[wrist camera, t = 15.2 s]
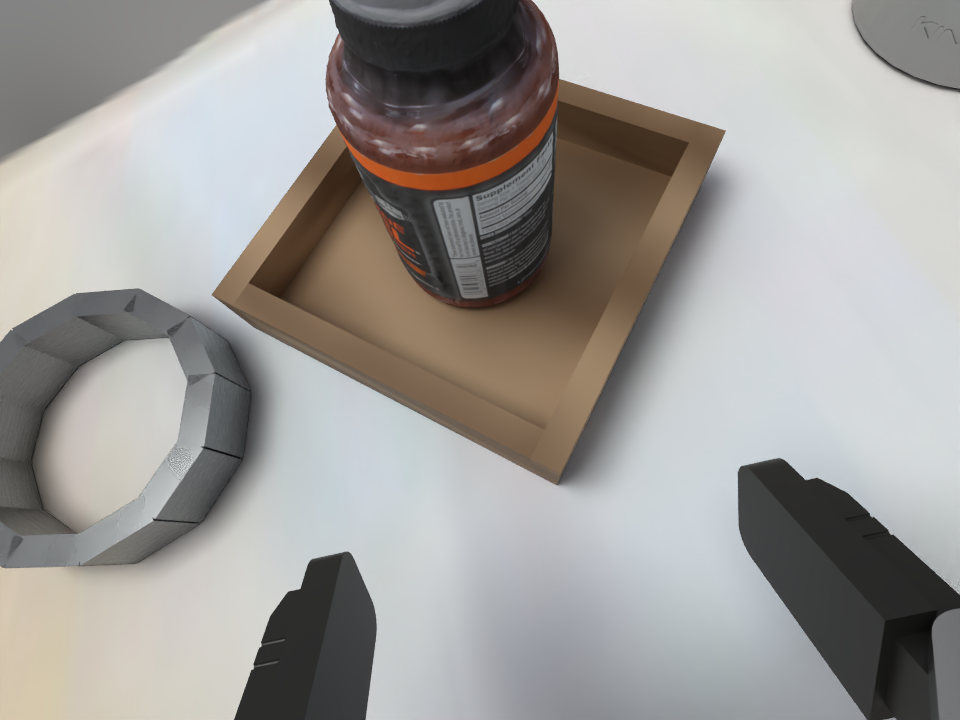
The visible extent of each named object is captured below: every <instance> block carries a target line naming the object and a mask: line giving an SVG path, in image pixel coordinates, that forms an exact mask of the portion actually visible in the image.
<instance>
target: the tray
mask: <svg viewBox="0 0 960 720" xmlns="http://www.w3.org/2000/svg"><path fill="white" fill-rule="evenodd" d="M725 132H726V131H725V130H722V129H719V128H715V127H712V126H709V125H706V124H702V123H699V122H696V121H693V120H690V119H686V118H683V117H680V116H677V115H673V114H670V113H667V112H664V111H661V110H657V109H654V108H651V107H648V106H644V105H641V104H638V103H635V102H632V101H628V100H625V99H622V98H619V97H615V96H612V95H609V94H606V93H603V92H599V91H596V90H593V89H590V88H586V87H583V86H580V85H577V84H574V83H570V82H567V81H564V80H561V79H559V89H558V116H557V140H556V162H555V179H554V199H553V221H552V236H551V241H550V249H549V253H548V257H547V260H546V262H545V264H544V266H543V268H542V270H541V271H540V273H539V274H538V276H537V277H536V278H535V279H534V281H533V282H532V283H531V284H530V285H529V286H528V287H527V288H525V289H524V290H523V291H522V292H520V293H519V294H517V295H515V296H514V297H512V298H510V299H508V300H506V301H504V302H501V303H499V304H495V305H490V306H486V307H458V306H453V305H448V304H446V303H444V302H442V301H440V300H438V299H436V298H434V297H432V296H431V295H429V294H428V293H426V292H425V291H424V290H423V289H422V288H421V287H420V286H419V285H418V284H417V283H416V282H415V281H414V279H413V278H412V276H411V275H410V274H409V273H408V271H407V269H406V268H405V266H404V264H403V263H402V261H401V259H400V257H399V254H398V252H397V250H396V247H395V245H394V243H393V241H392V239H391V237H390V235H389V233H388V232H387V229H386V227H385V225H384V222H383V220H382V218H381V215H380V213H379V211H378V210H377V208H376V205H375V203H374V201H373V199H372V197H371V195H370V194H369V192H368V190H367V188H366V186H365V184H364V182H363V180H362V178H361V175H360V173H359V171H358V169H357V167H356V165H355V163H354V162H353V160H352V157H351V155H350V152H349V149H348V147H347V146H346V144H345V142H344V139H343V137H342V135H341V133H340V131H339V129H338V127H337V125H336V126H335V128H334V129H333V130H332V132H331V133H330V134H329V136H328V137H327V139H326V140H325V141H324V143H323V144H322V145H321V147H320V148H319V149H318V151H317V152H316V154H315V155H314V156H313V158H312V159H311V160H310V162H309V163H308V164H307V166H306V167H305V168H304V170H303V171H302V173H301V174H300V175H299V177H298V178H297V179H296V181H295V182H294V183H293V185H292V186H291V187H290V189H289V190H288V192H287V193H286V194H285V196H284V197H283V198H282V200H281V201H280V202H279V204H278V205H277V207H276V208H275V209H274V211H273V212H272V213H271V215H270V216H269V217H268V219H267V220H266V221H265V223H264V224H263V226H262V227H261V228H260V230H259V231H258V232H257V234H256V235H255V236H254V238H253V239H252V240H251V242H250V243H249V245H248V246H247V247H246V249H245V250H244V251H243V253H242V254H241V255H240V257H239V258H238V260H237V261H236V262H235V264H234V265H233V266H232V268H231V269H230V270H229V272H228V273H227V274H226V276H225V277H224V279H223V280H222V281H221V283H220V284H219V285H218V287H217V288H216V289H215V291H214V292H213V294H212V295H213V296H214V297H215V298H216V299H218V300H219V301H220V302H222V303H223V304H224V305H226V306H227V307H228V308H229V309H231V310H232V311H233V312H235V313H236V314H237V315H239V316H240V317H241V318H242V319H244V320H245V321H246V322H248V323H249V324H250V325H252V326H253V327H255V328H256V329H258V330H260V331H262V332H264V333H266V334H268V335H270V336H272V337H274V338H276V339H278V340H280V341H281V342H283V343H285V344H287V345H289V346H291V347H293V348H295V349H297V350H299V351H301V352H303V353H304V354H306V355H308V356H310V357H312V358H314V359H316V360H318V361H320V362H322V363H324V364H326V365H327V366H329V367H331V368H333V369H335V370H337V371H339V372H341V373H343V374H345V375H347V376H349V377H350V378H352V379H354V380H356V381H358V382H360V383H362V384H364V385H366V386H368V387H370V388H372V389H373V390H375V391H377V392H379V393H381V394H383V395H385V396H387V397H389V398H391V399H393V400H395V401H396V402H398V403H400V404H402V405H404V406H406V407H408V408H410V409H412V410H414V411H416V412H418V413H419V414H421V415H423V416H425V417H427V418H429V419H431V420H433V421H435V422H437V423H439V424H441V425H443V426H444V427H446V428H448V429H450V430H452V431H454V432H456V433H458V434H460V435H462V436H464V437H466V438H467V439H469V440H471V441H473V442H475V443H477V444H479V445H481V446H483V447H485V448H487V449H489V450H490V451H492V452H494V453H496V454H498V455H500V456H502V457H504V458H506V459H508V460H510V461H512V462H513V463H515V464H517V465H519V466H521V467H523V468H525V469H527V470H529V471H531V472H533V473H535V474H536V475H538V476H540V477H542V478H544V479H546V480H548V481H550V482H552V483H554V484H556V485H557V484H558V482H559V480H560V478H561V476H562V474H563V472H564V470H565V467H566V465H567V463H568V461H569V459H570V457H571V455H572V453H573V451H574V449H575V447H576V445H577V443H578V440H579V438H580V436H581V434H582V432H583V430H584V428H585V426H586V424H587V422H588V420H589V418H590V416H591V413H592V411H593V409H594V407H595V405H596V403H597V401H598V399H599V397H600V395H601V393H602V391H603V389H604V386H605V384H606V382H607V380H608V378H609V376H610V374H611V372H612V370H613V368H614V366H615V364H616V362H617V359H618V357H619V355H620V353H621V351H622V349H623V347H624V345H625V343H626V341H627V339H628V337H629V335H630V332H631V330H632V328H633V326H634V324H635V322H636V320H637V318H638V316H639V314H640V312H641V310H642V308H643V305H644V303H645V301H646V299H647V297H648V295H649V293H650V291H651V289H652V287H653V285H654V283H655V281H656V278H657V276H658V274H659V272H660V270H661V268H662V266H663V264H664V262H665V260H666V258H667V256H668V254H669V251H670V249H671V247H672V245H673V243H674V241H675V239H676V237H677V235H678V233H679V231H680V229H681V227H682V224H683V222H684V220H685V218H686V216H687V214H688V212H689V210H690V208H691V206H692V204H693V202H694V200H695V197H696V195H697V193H698V191H699V189H700V187H701V185H702V183H703V181H704V178H705V176H706V174H707V172H708V169H709V167H710V165H711V163H712V161H713V158H714V156H715V154H716V152H717V149H718V147H719V145H720V143H721V141H722V138H723V136H724V134H725Z"/></svg>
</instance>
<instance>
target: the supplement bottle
mask: <svg viewBox="0 0 960 720" xmlns="http://www.w3.org/2000/svg"><path fill="white" fill-rule="evenodd" d="M329 2H330V5H331V7H332V11H333V14H334V16H335V23H336V27H337V29H338V30H339V34H338V36H337V38H336V40H335V43H334V45H333V47H332V50H331V52H330V55H329V61H328V64H327V72H326V92H327V96H328V97H327V98H328V101H329V108H330V110H331V113H332V115H333V117H334V120H335V122H336V124H337V127H338V129H339V131H340V133H341V135H342V137H343V139H344V142H345V144H346V146H347V147H348V149H349V152H350V155H351V157H352V160H353V162H354V163H355V165H356V167H357V169H358V171H359V173H360V175H361V178H362V180H363V182H364V184H365V186H366V188H367V190H368V192H369V194H370V195H371V197H372V199H373V201H374V203H375V205H376V208H377V210H378V211H379V213H380V215H381V218H382V220H383V222H384V225H385V227H386V229H387V232H388V233H389V235H390V237H391V239H392V241H393V243H394V245H395V247H396V250H397V252H398V254H399V257H400V259H401V261H402V263H403V264H404V266H405V268H406V269H407V271H408V273H409V274H410V275H411V276H412V278H413V279H414V281H415V282H416V283H417V284H418V285H419V286H420V287H421V288H422V289H423V290H424V291H425V292H426V293H428V294H429V295H431V296H432V297H434V298H436V299H438V300H440V301H442V302H444V303H446V304H448V305H453V306H458V307H486V306H490V305H495V304H499V303H501V302H504V301H506V300H508V299H510V298H512V297H514V296H515V295H517V294H519V293H520V292H522V291H523V290H524V289H525V288H527V287H528V286H529V285H530V284H531V283H532V282H533V281H534V279H535V278H536V277H537V276H538V274H539V273H540V271H541V270H542V268H543V266H544V264H545V262H546V260H547V257H548V253H549V249H550V241H551V236H552V221H553V199H554V179H555V162H556V140H557V116H558V89H559V64H558V52H557V47H556V42H555V38H554V35H553V32H552V30H551V28H550V26H549V23H548V22H547V20H546V19H545V17H544V15H543V13H542V12H541V11H540V10H539V8H538V7H537V6H536V4H535V3H534V2H533V1H532V0H329Z"/></svg>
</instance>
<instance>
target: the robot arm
mask: <svg viewBox="0 0 960 720" xmlns="http://www.w3.org/2000/svg"><path fill="white" fill-rule="evenodd" d="M852 11H853V16H854V21H855V24H856V26H857V28H858V29H859V31H860V33H861V35H862V37H863V39H864V40H865V41H866V42H867V43H868V44H869V45H870V46H871V48H872V49H873V50H874V51H875V52H876V53H877V54H878V55H880V56H881V57H882V58H884V59H885V60H886V61H888V62H889V63H890V64H892V65H893V66H895V67H897V68H899V69H901V70H903V71H904V72H906V73H908V74H910V75H912V76H914V77H917V78H920V79H923V80H926V81H929V82H932V83H935V84H938V85H943V86H948V87H953V88H959V89H960V0H853V1H852ZM738 513H739V530H740V534H741V537H742V540H743V543H744V545H745V547H746V549H747V551H748V553H749V555H750V556H751V558H752V559H753V560H754V562H755V563H756V565H757V566H758V567H759V569H760V570H761V572H762V573H763V574H764V576H765V577H766V579H767V580H768V581H769V583H770V584H771V586H772V587H773V588H774V590H775V591H776V593H777V594H778V595H779V597H780V598H781V600H782V601H783V602H784V604H785V605H786V607H787V608H788V609H789V611H790V612H791V614H792V615H793V616H794V618H795V619H796V621H797V622H798V623H799V625H800V626H801V628H802V629H803V630H804V632H805V633H806V635H807V636H808V637H809V639H810V640H811V642H812V643H813V644H814V646H815V647H816V649H817V650H818V651H819V653H820V654H821V656H822V657H823V658H824V660H825V661H826V663H827V664H828V665H829V667H830V668H831V670H832V671H833V672H834V674H835V675H836V677H837V678H838V679H839V681H840V682H841V684H842V685H843V686H844V688H845V689H846V691H847V692H848V693H849V695H850V696H851V698H852V699H853V700H854V702H855V703H856V705H857V706H858V707H859V709H860V710H861V712H862V713H863V714H864V716H865V717H866V719H867V720H884V719H889V718H894V717H895V718H896V719H897V720H960V595H959V594H958V593H957V592H956V591H955V590H954V589H952V588H951V587H950V586H949V585H948V584H947V583H946V582H945V581H944V580H943V579H941V578H940V577H939V576H938V575H937V574H936V573H935V572H934V571H933V570H932V569H930V568H929V567H928V566H927V565H926V564H925V563H924V562H923V561H922V560H921V559H919V558H918V557H917V556H916V555H915V554H914V553H913V552H912V551H911V550H910V549H908V548H907V547H906V546H905V545H904V544H903V543H902V542H901V541H900V540H899V539H897V538H896V537H895V536H894V535H890V534H889V532H888V529H886V528H885V527H884V526H883V525H882V524H881V523H880V522H879V521H878V520H877V519H875V518H874V517H873V518H872V517H871V516H870V513H869V512H868V511H867V510H866V509H864V508H863V507H862V506H861V505H860V504H859V503H858V502H857V501H856V500H855V499H853V498H852V497H851V496H850V495H849V494H848V493H847V492H845V491H843V490H841V489H839V488H837V487H835V486H833V485H831V484H829V483H827V482H825V481H823V480H821V479H819V478H815V479H810V480H805V479H804V478H803V477H802V476H801V475H800V474H799V473H798V472H797V471H795V470H794V469H793V468H792V467H791V466H790V465H789V464H788V463H787V462H786V461H785V460H783V459H781V458H777V459H772V460H768V461H763V462H759V463H754V464H749V465H745V466H741V467H740V468H739V471H738ZM376 630H377V626H376V614H375V609H374V605H373V602H372V600H371V597H370V595H369V593H368V590H367V588H366V586H365V583H364V581H363V579H362V576H361V574H360V572H359V570H358V567H357V565H356V563H355V560H354V558H353V556H352V555H351V553H350V552H343V553H338V554H334V555H329V556H325V557H320V558H315V559H312V560H311V561H310V562H309V564H308V566H307V569H306V572H305V576H304V579H303V582H302V586H301V589H299V590H294V591H290V592H288V593H287V594H286V595H285V597H284V598H283V599H282V601H281V602H280V604H279V605H278V606H277V608H276V609H275V610H274V612H273V613H272V615H271V616H270V618H269V621H268V624H267V627H266V630H265V633H264V636H263V639H262V641H261V643H262V646H261V647H260V648H259V650H258V653H257V656H256V659H255V661H254V670H251V673H250V676H249V679H248V681H247V684H246V687H245V690H244V693H243V696H242V699H241V702H240V704H239V707H238V710H237V713H236V716H235V719H234V720H365V719H366V711H367V703H368V696H369V688H370V680H371V672H372V664H373V657H374V649H375V641H376Z"/></svg>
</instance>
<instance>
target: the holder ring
mask: <svg viewBox="0 0 960 720" xmlns="http://www.w3.org/2000/svg"><path fill="white" fill-rule="evenodd" d="M12 329H13V331H12V330H10V331H9V333H8V334H7V335H6V336H5V337H4V339H3V340H2V341H1V342H0V566H1V567H2V568H32V567H66V566H93V565H117V564H135V563H137V562H139V561H141V560H142V559H144V558H146V557H147V556H149V555H150V554H152V553H154V552H155V551H157V550H159V549H160V548H162V547H163V546H165V545H167V544H168V543H170V542H171V541H173V540H175V539H176V538H178V537H180V536H181V535H183V534H184V533H186V532H188V531H189V530H191V529H193V528H194V527H196V526H197V525H199V524H200V523H199V522H202V521H203V519H204V518H205V516H206V515H207V513H208V512H209V510H210V509H211V507H212V506H213V504H214V503H215V501H216V500H217V498H218V496H219V495H220V493H221V492H222V490H223V489H224V487H225V486H226V484H227V483H228V481H229V480H230V478H231V477H232V475H233V474H234V472H235V471H236V469H237V467H238V466H239V464H240V463H241V461H242V459H240V458H243V456H244V448H245V440H246V432H247V423H248V415H249V407H250V399H251V392H250V391H251V390H250V388H249V386H248V383H247V381H246V379H245V377H244V375H243V373H242V371H241V368H240V366H239V364H238V362H237V360H236V358H235V355H234V353H233V351H232V349H231V347H230V345H229V343H228V341H227V340H226V339H224V338H223V337H221V336H220V335H218V334H217V333H215V332H214V331H212V330H211V329H209V328H208V327H206V326H205V325H203V324H202V323H200V322H199V321H197V320H196V319H194V318H193V317H191V316H190V315H188V314H186V313H184V312H182V311H180V310H178V309H177V308H175V307H173V306H171V305H169V304H167V303H165V302H164V301H162V300H160V299H158V298H156V297H154V296H152V295H150V294H149V293H147V292H145V291H143V290H141V289H125V290H113V291H100V292H88V293H76V295H75V294H73V295H71V296H70V297H68V298H66V299H64V300H63V301H61V302H59V303H57V304H55V305H54V306H52V307H50V308H48V309H46V310H45V311H43V312H41V313H39V314H38V315H36V316H34V317H32V318H30V319H29V320H27V321H25V322H23V323H21V324H20V325H18V326H16V327H14V328H12ZM164 337H169V338H170V340H171V343H172V345H173V347H174V350H175V352H176V355H177V357H178V359H179V362H180V364H181V367H182V369H183V371H184V374H185V376H186V379H187V381H188V382H187V388H186V394H185V400H184V406H183V412H182V418H181V424H180V430H179V436H178V441H177V443H176V444H175V445H174V447H173V448H172V450H171V451H170V453H169V454H168V455H167V457H166V458H165V460H164V461H163V463H162V464H161V466H160V467H159V468H158V470H157V471H156V473H155V474H154V476H153V477H152V478H151V480H150V481H149V483H148V484H147V486H146V487H145V488H144V490H143V491H142V493H141V494H140V496H139V497H138V498H137V499H135V500H134V501H132V502H130V503H129V504H127V505H125V506H124V507H122V508H120V509H119V510H117V511H116V512H114V513H112V514H111V515H109V516H107V517H106V518H104V519H102V520H101V521H99V522H97V523H96V524H94V525H92V526H91V527H89V528H87V529H86V530H84V531H82V532H81V533H79V534H76V533H75V532H73V531H72V530H71V529H69V528H68V527H67V526H65V525H64V524H62V523H61V522H60V521H58V520H57V519H56V518H54V517H53V516H51V515H50V514H49V513H47V512H46V511H45V510H43V507H42V504H41V500H40V496H39V493H38V489H37V485H36V482H35V478H34V474H33V471H32V467H31V463H30V461H31V458H32V454H33V450H34V446H35V442H36V438H37V435H38V431H39V427H40V423H41V419H42V415H43V412H44V410H45V408H46V407H47V406H48V404H49V403H50V402H51V401H52V399H53V398H54V397H55V395H56V394H57V393H58V392H59V390H60V389H61V388H62V386H63V385H64V384H65V383H66V381H67V380H68V379H69V378H70V376H71V375H72V374H73V372H74V371H75V370H76V369H77V367H78V366H80V365H82V364H83V363H85V362H87V361H89V360H90V359H92V358H94V357H96V356H97V355H99V354H101V353H103V352H104V351H106V350H108V349H110V348H111V347H113V346H115V345H117V344H118V343H120V342H122V341H124V340H136V339H150V338H164Z"/></svg>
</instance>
